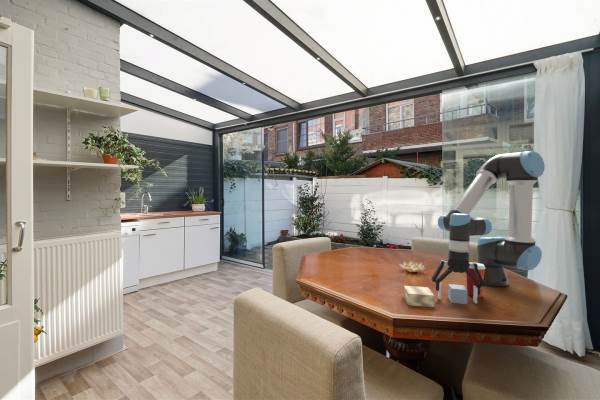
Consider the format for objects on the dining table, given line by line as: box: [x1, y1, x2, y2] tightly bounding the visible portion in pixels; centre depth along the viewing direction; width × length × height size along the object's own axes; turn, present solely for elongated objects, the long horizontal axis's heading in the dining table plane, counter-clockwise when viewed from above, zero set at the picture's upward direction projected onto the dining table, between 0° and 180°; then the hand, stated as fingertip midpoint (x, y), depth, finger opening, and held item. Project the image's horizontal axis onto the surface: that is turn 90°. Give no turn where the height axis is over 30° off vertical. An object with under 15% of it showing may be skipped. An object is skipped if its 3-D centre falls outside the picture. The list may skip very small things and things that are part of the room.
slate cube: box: [447, 283, 468, 305], centre depth 125 cm, size 6×6×6 cm
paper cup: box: [466, 261, 485, 298], centre depth 132 cm, size 8×8×14 cm
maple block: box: [403, 285, 435, 308], centre depth 124 cm, size 10×10×5 cm
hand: (456, 300), depth 125 cm, fingers open, 13 cm apart
